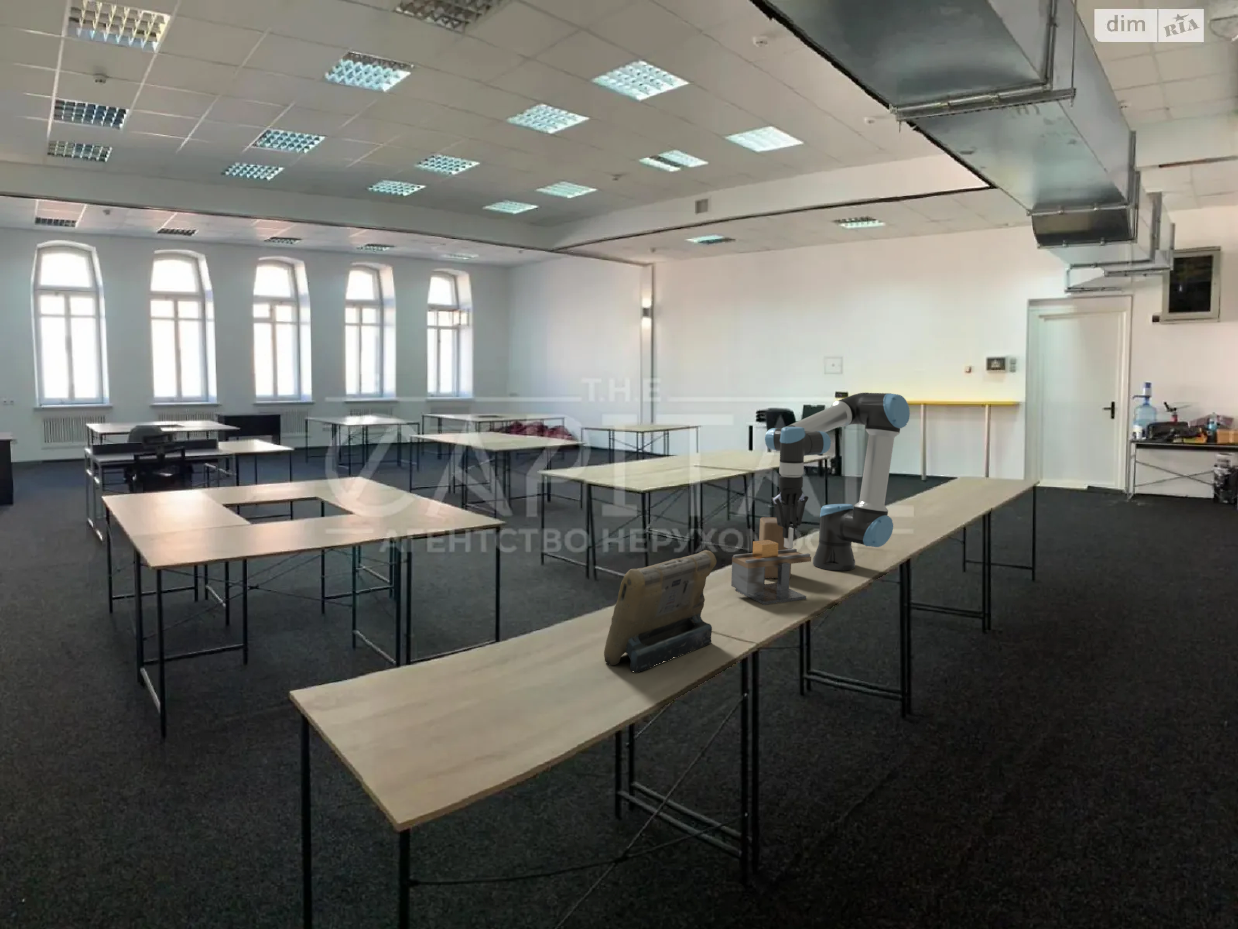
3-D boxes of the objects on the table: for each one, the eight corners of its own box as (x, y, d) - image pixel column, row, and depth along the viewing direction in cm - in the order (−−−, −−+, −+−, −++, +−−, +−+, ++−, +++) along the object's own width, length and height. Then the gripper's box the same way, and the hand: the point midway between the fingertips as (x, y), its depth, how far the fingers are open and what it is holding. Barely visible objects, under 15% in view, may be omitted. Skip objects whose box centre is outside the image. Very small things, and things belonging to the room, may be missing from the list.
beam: (792, 578, 252) (793, 548, 251) (809, 585, 244) (811, 554, 243) (731, 586, 243) (732, 554, 241) (747, 593, 234) (748, 561, 233)
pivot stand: (776, 585, 254) (777, 550, 253) (806, 599, 240) (807, 562, 238) (735, 590, 248) (736, 554, 246) (763, 604, 233) (765, 566, 232)
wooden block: (791, 579, 262) (793, 522, 259) (762, 579, 262) (764, 522, 260) (785, 571, 272) (787, 517, 269) (757, 571, 272) (759, 516, 269)
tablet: (675, 629, 210) (677, 541, 207) (718, 641, 202) (721, 549, 198) (599, 663, 185) (600, 564, 182) (644, 679, 176) (646, 574, 173)
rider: (768, 555, 245) (768, 539, 244) (777, 558, 240) (778, 543, 239) (752, 556, 242) (753, 541, 242) (761, 560, 237) (762, 544, 237)
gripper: (800, 472, 247) (797, 543, 250) (767, 474, 242) (764, 546, 245) (815, 475, 240) (812, 548, 244) (781, 478, 235) (778, 552, 238)
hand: (788, 547), depth 244 cm, fingers closed
